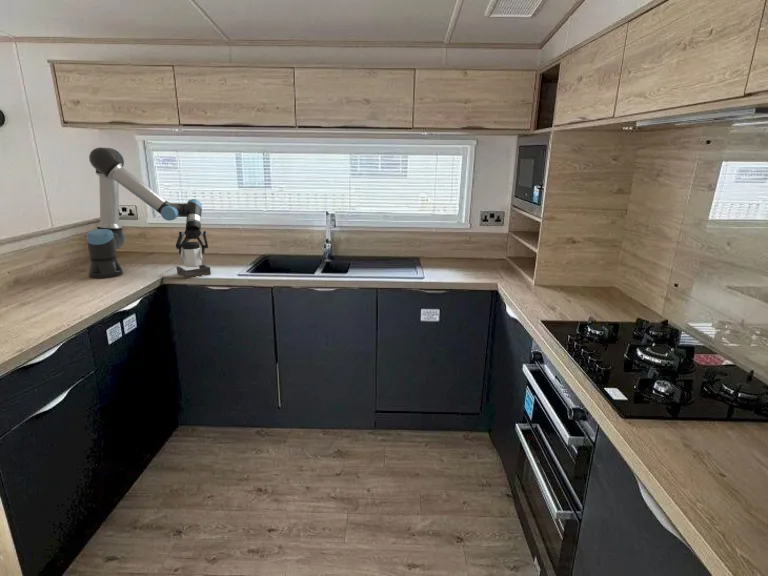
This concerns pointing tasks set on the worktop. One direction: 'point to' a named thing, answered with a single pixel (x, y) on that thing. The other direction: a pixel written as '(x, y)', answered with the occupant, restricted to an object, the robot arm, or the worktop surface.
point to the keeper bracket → (194, 271)
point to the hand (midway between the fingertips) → (191, 258)
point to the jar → (191, 254)
